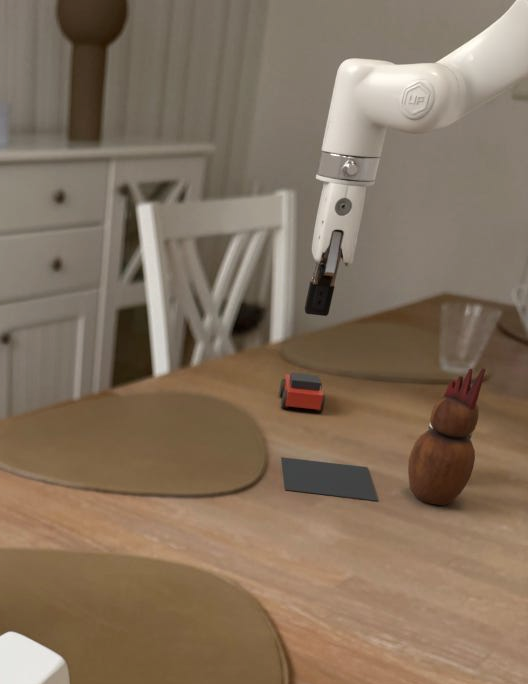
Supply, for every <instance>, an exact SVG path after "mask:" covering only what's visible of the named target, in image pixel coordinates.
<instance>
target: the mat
mask: <svg viewBox="0 0 528 684" xmlns="http://www.w3.org/2000/svg"><path fill="white" fill-rule="evenodd" d="M281 466H282V467H281V468H282V474H283V475H282V477H283V483H284V491H289V492H295V493H296V492H297V493H304V494H312V495H313V494H314V495H322V496H328V497H329V496H330V497H336V498H337V497H338V498H347V499H356V500H363V501H370V502H371V501H372V502H379V500H378V496H377V493H376V490H375V487H374V484H373V480H372V477H371V474H370V471H369V468H368V466H361V465H351V464H343V463H337V462H336V463H335V462H328V461H327V462H326V461H319V460H318V461H317V460H309V459H301V458H292V457H285V456H284V457H283V456H282V457H281Z"/></svg>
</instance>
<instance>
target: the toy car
mask: <svg viewBox="0 0 528 684" xmlns="http://www.w3.org/2000/svg"><path fill="white" fill-rule="evenodd" d="M278 396H279V397H281V402H280V408H281V409H285V410H287V409H288V407H290V408H291V407H292V408H300V409H301V408H302V409H309V410H310V409H311V410H315V413H322V412H323V411H324V408H325V402H326V394H325V393H323V383H322V382H321V378H320V375H318V374H310V373H309V374H308V373H299V372H290V374H285V375H284V378H281V381H280V386H279V394H278Z"/></svg>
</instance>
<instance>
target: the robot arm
mask: <svg viewBox="0 0 528 684" xmlns="http://www.w3.org/2000/svg"><path fill="white" fill-rule="evenodd" d="M335 75H336V76H335V81H334V85H333V90H332V95H331V99H330V105H329V109H328V115H327V120H326V124H325V129H324V135H323V142H322V145H321V150H320V154H319V158H318V159H319V160H318V164H317V169H316V175H315V179H316V180H318V181H321V182H323V185H322V189H321V193H320V199H319V203H318V208H317V212H316V213H317V214H316V217H315V224H314V229H313V230H314V231H313V236H312V242H311V255H312V257H313V259H314V267H313V272H312V277H311V281H309V286H308V291H307V295H306V300H305V303H304V304H305V305H304V312H305V314H307V315H315V316H321V317H322V316H323V317H327V316H328V315H329V313H330V309H331V304H332V300H333V295H334V291H335V288H336V287H335V282H336V279H337V275H338V272H339V271H338V270H339V267H340V262H341V260H342V262H343V264H344V265H345V267H348V268H349V267H350V266H352V265H353V262H354V258H355V257H354V256H355V253H356V247H357V243H358V236H359V231H360V227H361V222H362V217H363V210H364V205H365V198H366V191H367V190H366V189H367V187H373V186H374V185H375V181H376V177H377V173H378V168H379V165H380V160H381V157H382V156H381V155H382V153H383V152H382V151H383V147H384V143H385V140H386V139H385V138H386V134H387V130H388V128H389V129H392V130H394V131H395V130H396V131H398V132H399V131H400V132H403V133H406V134H411V135H412V134H413V135H421V134H422V135H423V134H427V133H430V132H436V131H438V130H442V129H445V128H446V127H448V126H450V125H452V124H453V123H455V122H457V121H458V120H461V119H462V118H463V117H465V116H467V115H468V114H470V113H472V112H473V111H475V110H477V109H478V108H480V107H481V106H483V105H485V104H486V103H488V102H490V101H491V100H493V99H494V98H496V97H498V96H499V95H501V94H503V93H504V92H506V91H507V90H510V89H511V88H512V87H514V86H515V85H517V84H519V83H520V82H522V81H523V80H525V79H527V78H528V0H515V1H514V3H512V4H511V6H510V7H509V9H508V10H507V11H505V13H504V14H503V15H501V17H499V18H498V19H497V20H495V22H493V23H492V24H490V25H489V26H488V27H487V28H486V29H484V30H483V31H482V32H480V33H478V34H476V36H474V37H473V38H471V39H470V40H468V41H467V42H465V43H463V44H462V45H460V46H459V47H457V48H456V49H454V50H453V51H452V52H450V53H449V54H447V55H445V56H444V57H442V58H441V59H439V60H437V61H436V62H422V63H421V62H420V63H407V64H406V63H405V64H396V63H393V62H391V61H388V60H381V59H371V58H370V59H369V58H354V57H353V58H348V59H345V60H344V61H343V62H341V63H340V64H339V67H338V68H337V72H336V74H335Z"/></svg>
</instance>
